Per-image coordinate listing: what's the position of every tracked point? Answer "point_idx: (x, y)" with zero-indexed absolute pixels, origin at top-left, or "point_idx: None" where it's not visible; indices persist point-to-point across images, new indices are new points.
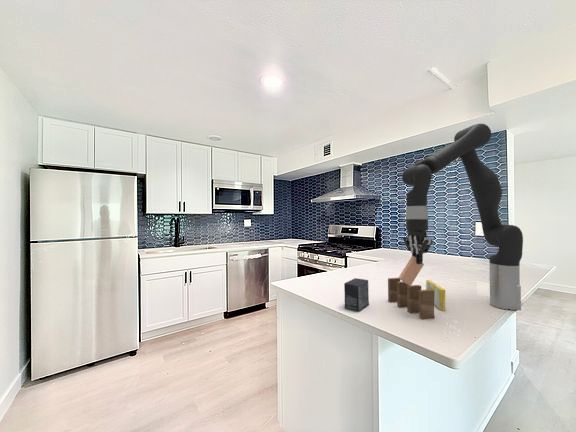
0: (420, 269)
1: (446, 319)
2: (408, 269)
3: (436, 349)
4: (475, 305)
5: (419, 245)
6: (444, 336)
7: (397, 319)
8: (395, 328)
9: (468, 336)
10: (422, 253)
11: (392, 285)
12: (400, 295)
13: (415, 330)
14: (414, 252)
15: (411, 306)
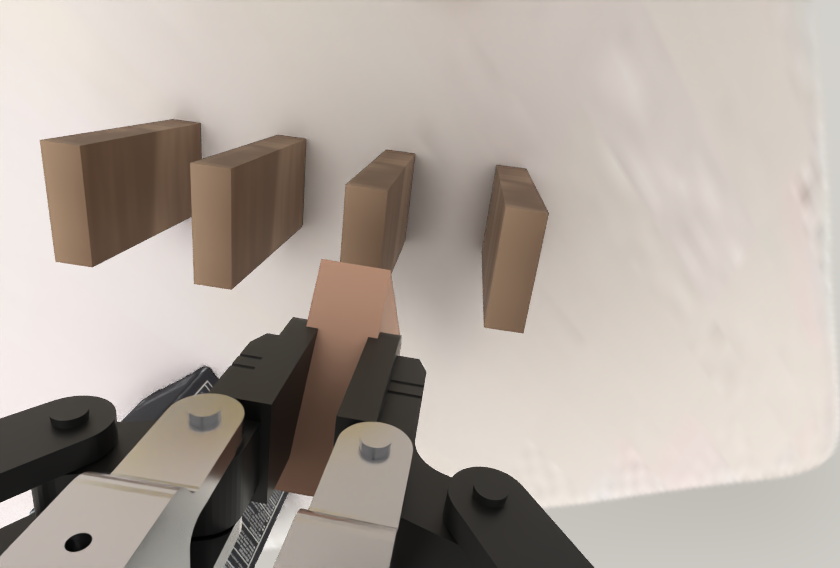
0: (393, 302)
1: (575, 109)
2: None
3: (751, 463)
4: None
5: (167, 507)
6: (704, 332)
7: (448, 378)
8: (526, 461)
9: (779, 219)
10: (434, 493)
11: (128, 225)
12: (273, 244)
13: (587, 400)
14: (249, 497)
15: (400, 246)
